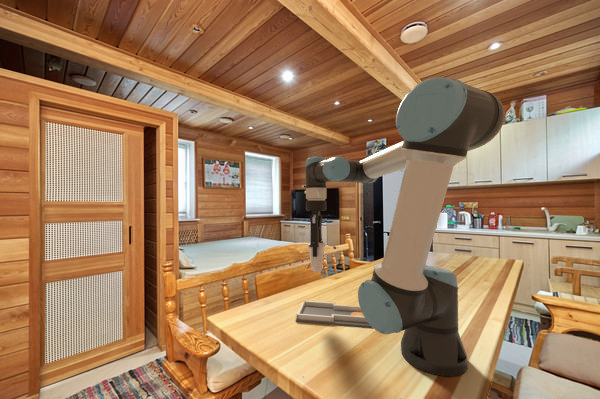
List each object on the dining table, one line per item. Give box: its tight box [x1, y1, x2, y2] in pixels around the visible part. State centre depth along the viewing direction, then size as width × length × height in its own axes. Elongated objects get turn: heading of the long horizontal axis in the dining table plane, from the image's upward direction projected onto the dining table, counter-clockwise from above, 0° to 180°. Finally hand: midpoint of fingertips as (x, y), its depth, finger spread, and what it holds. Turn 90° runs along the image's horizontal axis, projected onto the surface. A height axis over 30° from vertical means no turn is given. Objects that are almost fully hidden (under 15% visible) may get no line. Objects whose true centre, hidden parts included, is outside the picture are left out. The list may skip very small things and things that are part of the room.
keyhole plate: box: [295, 300, 374, 329], centre depth 89 cm, size 14×26×2 cm, turn 79°
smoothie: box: [307, 242, 326, 273], centre depth 91 cm, size 6×6×14 cm
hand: (316, 263), depth 91 cm, fingers closed on smoothie, 6 cm apart
